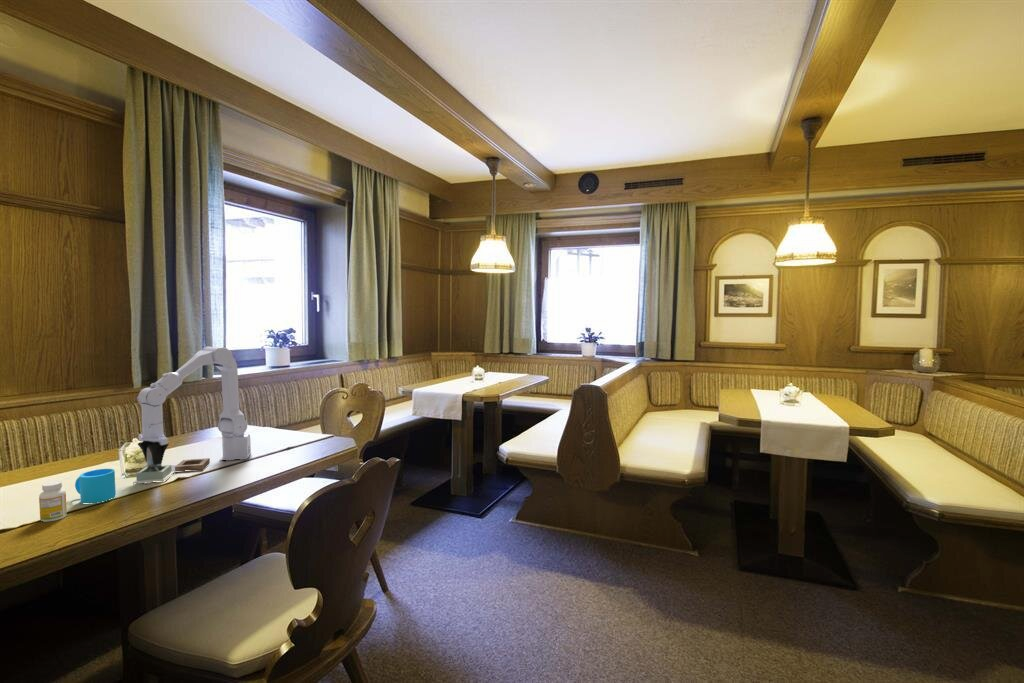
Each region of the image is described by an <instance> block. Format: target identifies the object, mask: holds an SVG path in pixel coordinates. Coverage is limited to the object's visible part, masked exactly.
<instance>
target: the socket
mask: <svg viewBox="0 0 1024 683" xmlns="http://www.w3.org/2000/svg"><path fill="white" fill-rule="evenodd" d="M210 461H211V460H210V458H209V457H207V458H205V457H204V458H195V459H192V458H191V459H183V460H181V461H180V462H178V463H177V465H175V466H174V471H185V470H201V471H204V470H205V469H206V468H207V467H208V466H209V465H210V464H211V462H210ZM209 463H210V464H209ZM208 464H209V465H208ZM207 465H208V466H207ZM206 466H207V467H206ZM205 467H206V468H205ZM204 468H205V469H204ZM203 469H204V470H203Z"/></svg>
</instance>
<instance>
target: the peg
mask: <svg viewBox="0 0 1024 683" xmlns="http://www.w3.org/2000/svg"><path fill="white" fill-rule="evenodd" d="M162 463H163V462H162ZM162 463H161V464H157V465H154V464H153V460H152V454H151V451H150V449H149V448H148V447H147V462H146V467H147V472H153V471H161V470H162V466H163V465H162Z"/></svg>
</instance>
